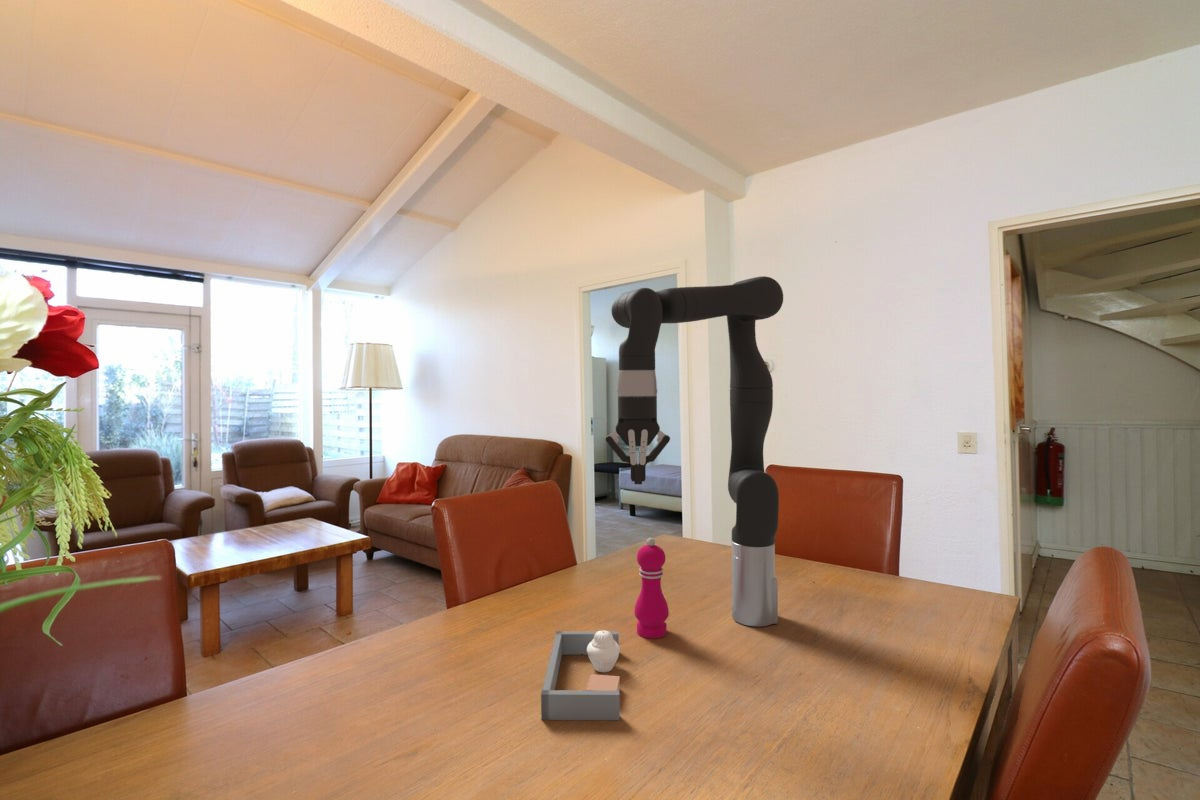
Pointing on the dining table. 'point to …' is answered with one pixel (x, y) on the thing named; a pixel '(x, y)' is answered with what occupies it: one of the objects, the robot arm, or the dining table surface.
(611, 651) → the white rounded ceramic piece
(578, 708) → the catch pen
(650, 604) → the pepper mill
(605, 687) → the block
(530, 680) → the dining table surface
